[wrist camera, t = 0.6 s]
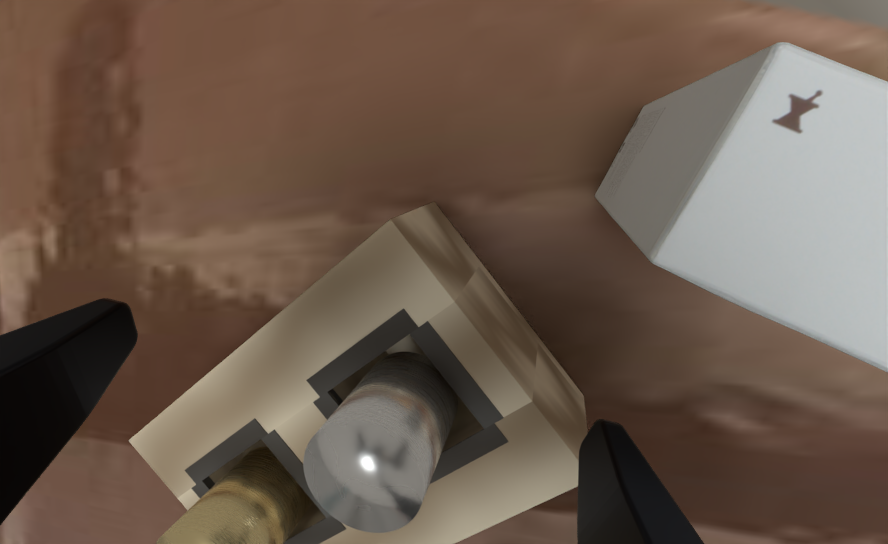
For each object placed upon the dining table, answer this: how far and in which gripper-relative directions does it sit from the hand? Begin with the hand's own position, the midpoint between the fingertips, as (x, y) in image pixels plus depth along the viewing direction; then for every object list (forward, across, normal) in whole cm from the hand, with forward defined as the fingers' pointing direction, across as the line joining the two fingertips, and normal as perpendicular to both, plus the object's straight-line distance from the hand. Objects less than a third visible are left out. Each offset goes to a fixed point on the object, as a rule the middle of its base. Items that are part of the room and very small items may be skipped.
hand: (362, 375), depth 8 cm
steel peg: (+7, -1, +9) cm, 11 cm away
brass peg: (+6, +4, +16) cm, 17 cm away
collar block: (+10, +1, +13) cm, 17 cm away
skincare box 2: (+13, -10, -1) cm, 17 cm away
